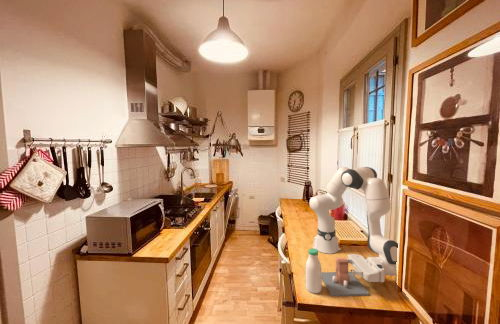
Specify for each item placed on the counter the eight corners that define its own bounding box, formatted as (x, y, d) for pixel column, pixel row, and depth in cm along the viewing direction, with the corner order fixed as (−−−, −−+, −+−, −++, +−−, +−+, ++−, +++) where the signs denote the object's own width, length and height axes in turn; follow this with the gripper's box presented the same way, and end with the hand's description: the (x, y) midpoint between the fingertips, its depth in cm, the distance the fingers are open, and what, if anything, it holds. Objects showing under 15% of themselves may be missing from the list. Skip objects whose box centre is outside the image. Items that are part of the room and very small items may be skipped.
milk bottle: (324, 292, 103) (324, 252, 102) (311, 295, 101) (310, 255, 100) (315, 282, 110) (315, 245, 109) (302, 285, 108) (302, 248, 107)
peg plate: (319, 274, 118) (319, 267, 117) (351, 273, 118) (351, 266, 117) (331, 296, 100) (331, 288, 100) (369, 295, 100) (369, 287, 99)
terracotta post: (335, 279, 111) (335, 257, 110) (344, 279, 111) (344, 257, 110) (339, 284, 106) (339, 262, 106) (348, 284, 106) (348, 261, 106)
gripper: (363, 250, 118) (338, 251, 118) (386, 271, 98) (356, 272, 98) (363, 261, 118) (338, 262, 119) (386, 284, 98) (356, 285, 98)
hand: (347, 266), depth 108 cm, fingers open, 8 cm apart
